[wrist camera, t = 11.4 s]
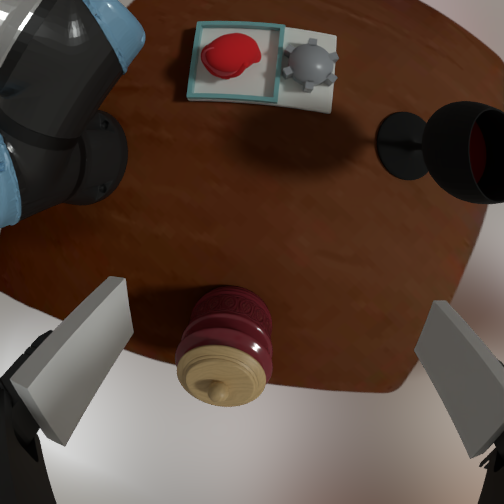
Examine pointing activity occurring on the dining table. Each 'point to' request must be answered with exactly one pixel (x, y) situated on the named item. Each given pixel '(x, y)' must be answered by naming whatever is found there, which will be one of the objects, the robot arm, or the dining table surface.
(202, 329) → the canister
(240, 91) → the carrier board
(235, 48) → the cap
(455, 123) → the wine glass
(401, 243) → the dining table surface
